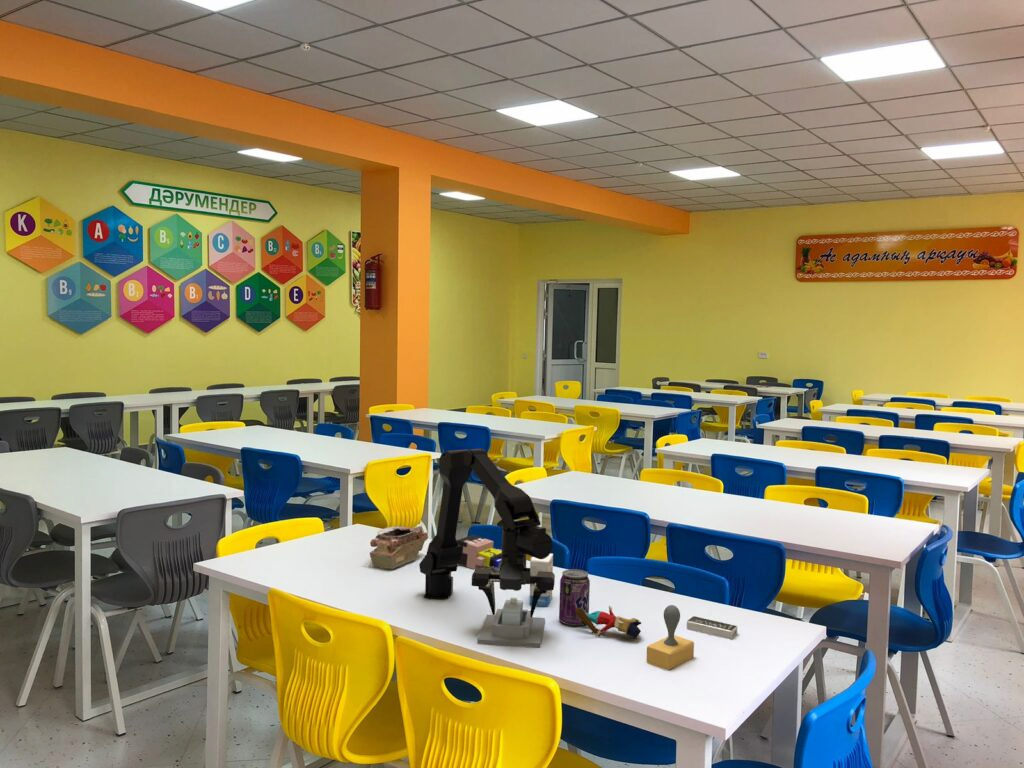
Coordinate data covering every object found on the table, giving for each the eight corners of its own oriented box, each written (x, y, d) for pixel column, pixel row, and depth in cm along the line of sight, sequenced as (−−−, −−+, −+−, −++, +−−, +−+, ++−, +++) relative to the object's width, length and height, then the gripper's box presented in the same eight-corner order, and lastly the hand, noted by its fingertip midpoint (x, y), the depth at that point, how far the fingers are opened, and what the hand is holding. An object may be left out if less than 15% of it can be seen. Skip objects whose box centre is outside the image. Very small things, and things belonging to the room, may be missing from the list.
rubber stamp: (668, 671, 167) (670, 614, 166) (645, 662, 171) (647, 607, 170) (694, 657, 174) (696, 603, 173) (671, 650, 178) (673, 596, 177)
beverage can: (569, 629, 189) (570, 579, 188) (553, 619, 195) (554, 570, 194) (594, 624, 192) (595, 575, 191) (578, 615, 198) (579, 567, 197)
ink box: (547, 607, 203) (549, 561, 203) (528, 605, 204) (529, 560, 204) (552, 596, 212) (554, 552, 211) (534, 595, 213) (535, 551, 212)
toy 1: (494, 555, 228) (453, 541, 236) (491, 578, 229) (450, 563, 237) (518, 546, 238) (477, 533, 246) (515, 569, 239) (475, 555, 247)
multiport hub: (692, 625, 194) (693, 615, 194) (737, 635, 188) (738, 625, 188) (685, 630, 191) (686, 620, 191) (731, 641, 185) (731, 631, 184)
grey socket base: (477, 643, 179) (477, 628, 178) (487, 618, 194) (487, 604, 194) (540, 647, 177) (540, 632, 177) (544, 622, 193) (545, 607, 193)
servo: (501, 634, 182) (502, 607, 181) (505, 621, 190) (506, 595, 190) (519, 635, 181) (519, 608, 181) (522, 622, 190) (523, 596, 189)
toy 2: (586, 595, 192) (646, 610, 186) (584, 621, 193) (644, 637, 186) (571, 606, 184) (633, 622, 177) (568, 633, 185) (630, 650, 178)
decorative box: (356, 564, 237) (356, 532, 236) (402, 550, 253) (402, 520, 253) (389, 573, 229) (389, 539, 229) (434, 557, 246) (435, 526, 245)
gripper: (468, 556, 178) (466, 625, 179) (553, 560, 176) (551, 630, 177) (475, 543, 189) (474, 608, 190) (555, 547, 187) (553, 613, 188)
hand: (512, 615), depth 186 cm, fingers open, 8 cm apart
